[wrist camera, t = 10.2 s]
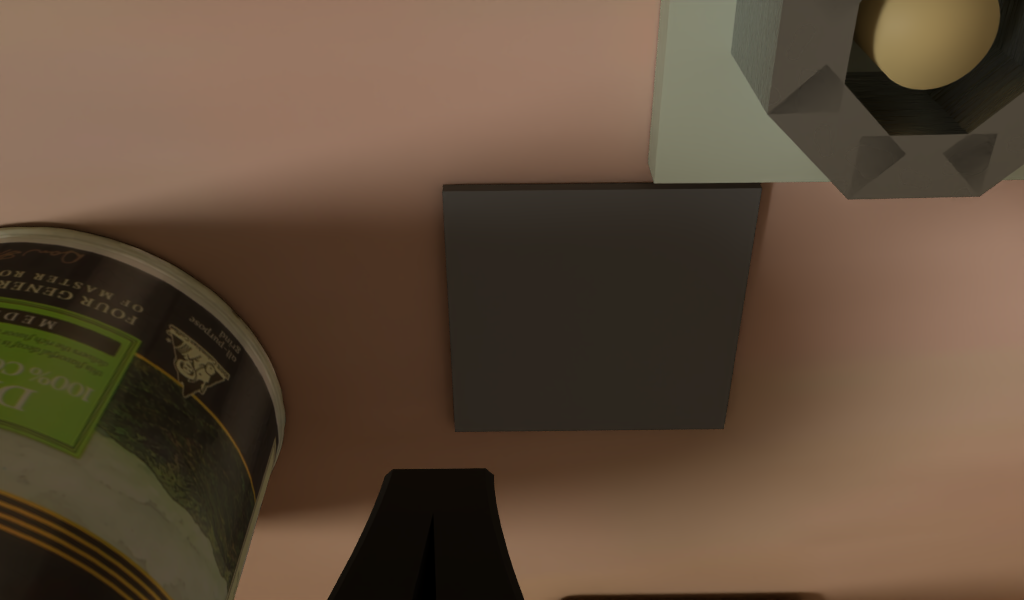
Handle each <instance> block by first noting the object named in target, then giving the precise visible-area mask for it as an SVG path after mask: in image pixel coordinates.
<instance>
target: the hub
mask: <svg viewBox="0 0 1024 600" xmlns="http://www.w3.org/2000/svg"><path fill="white" fill-rule="evenodd" d="M736 2H737V0H661V8H660V21H659V33H658V45H657V57H656V69H655V82H654V94H653V106H652V118H651V131H650V143H649V155H648V165H649V168H650V171H651V175H652V178H653V182H654V183H750V182H831V181H830V180H829V179H828V178H827V177H826V176H825V175H824V174H823V173H822V172H821V171H820V170H819V168H818V167H817V166H816V165H815V164H814V163H813V162H812V161H811V160H810V159H809V158H808V157H807V156H806V155H805V154H804V153H803V152H802V151H801V149H800V148H799V147H798V146H797V145H796V144H795V143H794V142H793V141H792V140H791V139H790V138H789V137H788V136H787V135H786V134H785V133H784V132H783V130H782V129H781V128H780V127H779V126H778V125H777V124H776V123H775V122H774V121H773V120H772V119H771V118H770V117H769V116H768V115H767V113H766V112H765V110H764V108H763V106H762V105H761V103H760V101H759V100H758V98H757V96H756V95H755V93H754V91H753V90H752V88H751V86H750V85H749V83H748V81H747V80H746V78H745V76H744V74H743V73H742V71H741V69H740V68H739V66H738V64H737V63H736V61H735V59H734V58H733V56H732V54H731V47H732V38H733V29H734V20H735V11H736ZM999 21H1000V7H999V3H998V0H862V1H861V2H860V3H859V8H858V13H857V19H856V24H855V30H854V35H853V40H852V46H851V51H850V57H849V62H848V67H847V72H879V71H883V72H884V73H885V74H886V75H887V76H888V77H889V78H890V79H891V80H892V81H894V82H895V83H897V84H899V85H901V86H903V87H906V88H911V89H918V90H926V89H934V88H939V87H942V86H945V85H948V84H950V83H952V82H954V81H956V80H958V79H960V78H962V77H963V76H964V75H966V74H967V73H969V72H970V71H971V70H972V69H973V68H975V67H976V66H977V65H978V64H979V62H980V61H981V60H982V59H983V58H984V56H985V55H986V54H987V52H988V51H989V49H990V48H991V46H992V44H993V42H994V40H995V37H996V34H997V31H998V27H999ZM1003 180H1024V165H1022V166H1021V167H1019V168H1018V169H1017V170H1015V171H1014V172H1013V173H1011V174H1010V175H1008V176H1007V177H1006V178H1004V179H1003Z"/></svg>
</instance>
